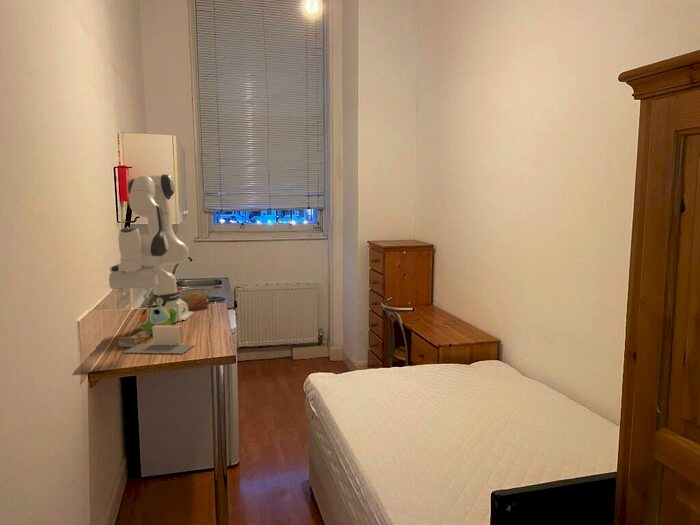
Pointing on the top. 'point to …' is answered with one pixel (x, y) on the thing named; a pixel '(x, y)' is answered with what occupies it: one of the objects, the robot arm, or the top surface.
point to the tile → (167, 334)
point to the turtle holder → (156, 317)
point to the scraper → (133, 339)
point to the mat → (158, 349)
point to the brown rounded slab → (196, 300)
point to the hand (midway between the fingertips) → (135, 298)
